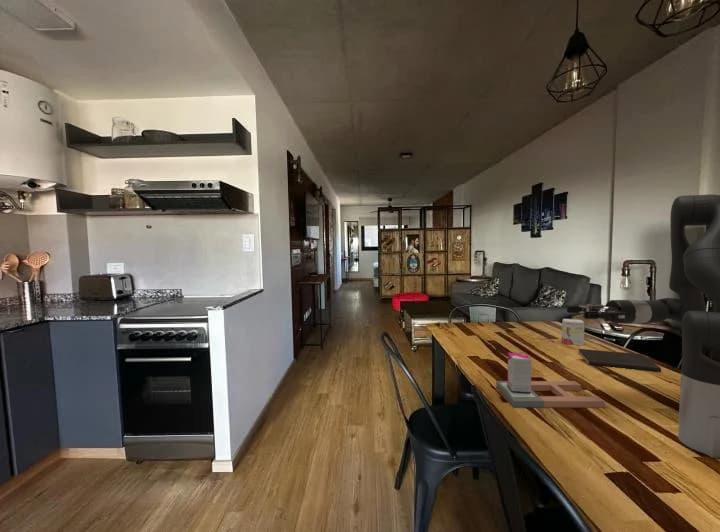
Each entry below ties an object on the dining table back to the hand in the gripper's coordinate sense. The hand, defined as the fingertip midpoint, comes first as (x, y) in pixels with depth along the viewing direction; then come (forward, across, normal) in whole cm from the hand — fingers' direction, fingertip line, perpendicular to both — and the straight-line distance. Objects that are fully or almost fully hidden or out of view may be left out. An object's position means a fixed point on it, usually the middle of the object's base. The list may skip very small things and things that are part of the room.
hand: (575, 312), depth 100 cm
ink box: (-33, -54, +28) cm, 69 cm away
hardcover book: (-36, -30, +29) cm, 55 cm away
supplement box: (+18, 0, +26) cm, 31 cm away
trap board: (+9, 0, +28) cm, 29 cm away
